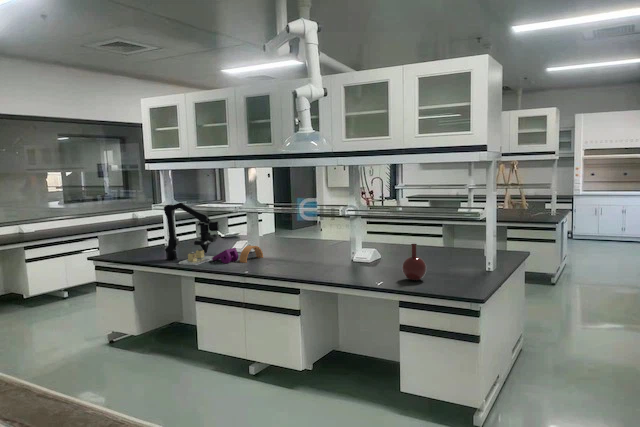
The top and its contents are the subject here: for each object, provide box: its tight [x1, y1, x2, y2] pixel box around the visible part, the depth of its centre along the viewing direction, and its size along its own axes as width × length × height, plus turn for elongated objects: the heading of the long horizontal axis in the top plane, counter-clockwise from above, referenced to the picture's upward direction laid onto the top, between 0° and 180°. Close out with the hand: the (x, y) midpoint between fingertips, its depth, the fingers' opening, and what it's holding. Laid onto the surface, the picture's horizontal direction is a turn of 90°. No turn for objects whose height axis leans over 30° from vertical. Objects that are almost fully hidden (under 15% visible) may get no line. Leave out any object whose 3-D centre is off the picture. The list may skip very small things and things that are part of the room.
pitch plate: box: [178, 255, 214, 266], centre depth 331 cm, size 14×24×2 cm, turn 160°
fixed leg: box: [187, 251, 197, 262], centre depth 325 cm, size 4×4×6 cm
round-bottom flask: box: [401, 243, 427, 281], centre depth 258 cm, size 13×13×20 cm
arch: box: [239, 245, 264, 264], centre depth 330 cm, size 6×20×10 cm, turn 151°
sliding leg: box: [195, 248, 205, 258], centre depth 334 cm, size 4×4×6 cm
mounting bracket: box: [211, 247, 239, 264], centre depth 328 cm, size 9×8×18 cm
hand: (205, 252), depth 340 cm, fingers closed
